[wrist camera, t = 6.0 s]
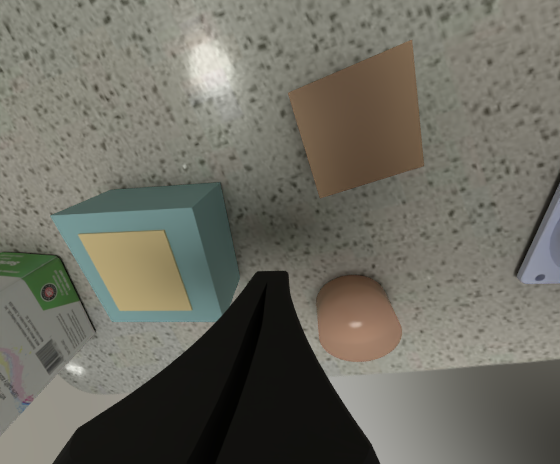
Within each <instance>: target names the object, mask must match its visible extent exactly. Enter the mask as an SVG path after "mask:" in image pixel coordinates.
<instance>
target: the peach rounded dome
mask: <svg viewBox="0 0 560 464" xmlns="http://www.w3.org/2000/svg"><path fill="white" fill-rule="evenodd" d="M316 306H317V318H318V330H319V340H320V343H321V345H322V346H323V348H324V349H325V350H326V351H327V352H328V353H329V354H331V355H333V356H334V357H336V358H339V359H342V360H346V361H352V362H364V361H371V360H375V359H378V358H381V357H383V356H385V355H387V354H388V353H390V352H391V351H392V350H394V349H395V348H396V346H397V345H398V344H399V342H400V340H401V336H402V328H401V325H400V323H399V321H398V318H397V316H396V314H395V312H394V310H393V308H392V306H391V304H390V301H389V299H388V297H387V295H386V293H385V291H384V289H383V287H382V286H381V285H380V284H379V283H378V282H376V281H375V280H373V279H371V278H368V277H365V276H361V275H346V276H341V277H338V278H335V279H333V280H331V281H330V282H328V283H327V284H325V285H324V286H323V287H322V288H321V290H320V291H319V293H318V295H317V299H316Z"/></svg>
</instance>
